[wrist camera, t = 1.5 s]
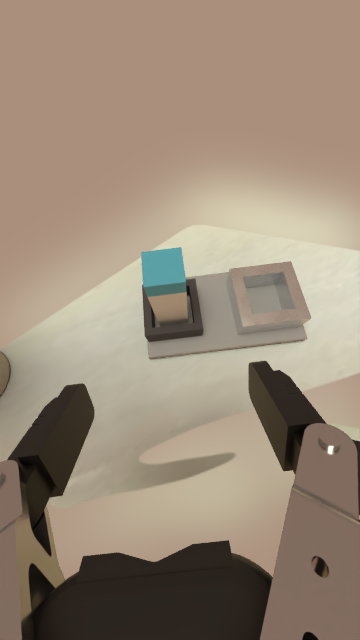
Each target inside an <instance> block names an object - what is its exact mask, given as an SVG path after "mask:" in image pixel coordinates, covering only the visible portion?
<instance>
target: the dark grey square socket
mask: <svg viewBox="0 0 360 640" xmlns="http://www.w3.org/2000/svg"><path fill="white" fill-rule="evenodd" d="M142 291H143V310H144V328H145V337H146V338H147V340H148V341H149V342H154V341H162V340H170V339H179V338H187V337H195V336H202V335H203V323H202V317H201V311H200V304H199V298H198V292H197V285H196V279H195V278H194V279H186V292H187V296H188V295H190V302H191V309H192V316H193V323H187V324H179V325H171V326H162V327H155V318H154V311H153V309H152V307H151V304H150V302H149V299H148V297H147V295H146V292H145V290H144V288H143V285H142Z"/></svg>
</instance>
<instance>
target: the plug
mask: <svg viewBox="0 0 360 640" xmlns="http://www.w3.org/2000/svg"><path fill="white" fill-rule="evenodd" d="M141 254H142V272H143V288H144V290H145V292H146V295H147V297H148V299H149V302H150V304H151V307H152V309H153V311H154V314H155V316H156V318H157V321H158V323H159V326H160V327H162V326H171V325H179V324H187V323H188V312H187V292H186V278H185V271H184V264H183V257H182V250H181V247H180V248H172V249H164V250H156V251H148V252H142V253H141Z"/></svg>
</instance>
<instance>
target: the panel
mask: <svg viewBox="0 0 360 640" xmlns="http://www.w3.org/2000/svg"><path fill="white" fill-rule="evenodd" d="M228 273H229V272H227V273H219V274H211V275H203V276H195V277H186V279H194V278H195V279H196V285H197V292H198V298H199V304H200V311H201V317H202V323H203V335H202V336H195V337H187V338H179V339H170V340H162V341H154V342H149V341H148V354H149V358H150V359H154V358H162V357H170V356H178V355H187V354H195V353H203V352H211V351H220V350H228V349H236V348H245V347H253V346H261V345H269V344H278V343H286V342H294V341H302V340H305V339H307V336H306V333H305V330H304V327H303V325H301V326H300V327H298V328H289V329H281V330H273V331H265V332H256V333H248V334H240V335H237V330H236V326H235V321H234V316H233V312H232V307H231V303H230V298H229V293H228V289H227V284H226V280H227V277H228ZM246 292H247V296H248V300H249V304H250V308H251V312H252V314H258V313H266V312H274V311H282V308H281V305H280V302H279V299H278V295H277V292H276V289H275V286H274V285H269V286H261V287H253V288H246ZM187 312H188V323H193V316H192V309H191V302H190V295H188V296H187ZM154 318H155V327H160V326H159V323H158V321H157V318H156V316H155V314H154Z"/></svg>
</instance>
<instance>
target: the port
mask: <svg viewBox="0 0 360 640" xmlns="http://www.w3.org/2000/svg"><path fill="white" fill-rule="evenodd" d="M226 284H227V289H228V293H229V298H230V303H231V307H232V312H233V316H234V321H235V326H236V330H237V335H240V334H248V333H256V332H265V331H273V330H281V329H289V328H298V327H300V326H301V325H303V324H304V323H305V322H307V321H308V320H310V319H311V316H310V313H309V310H308V308H307V305H306V302H305V299H304V296H303V294H302V291H301V288H300V285H299V282H298V280H297V277H296V274H295V271H294V269H293V266H292V263H291V261H290V262H282V263H274V264H266V265H258V266H250V267H242V268H234V269H230V270H229V273H228V277H227V280H226ZM269 285H274V286H275V289H276V292H277V295H278V299H279V302H280V305H281V308H282V311H274V312H266V313H258V314H252V312H251V308H250V304H249V300H248V296H247V292H246V288H253V287H261V286H269Z"/></svg>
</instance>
